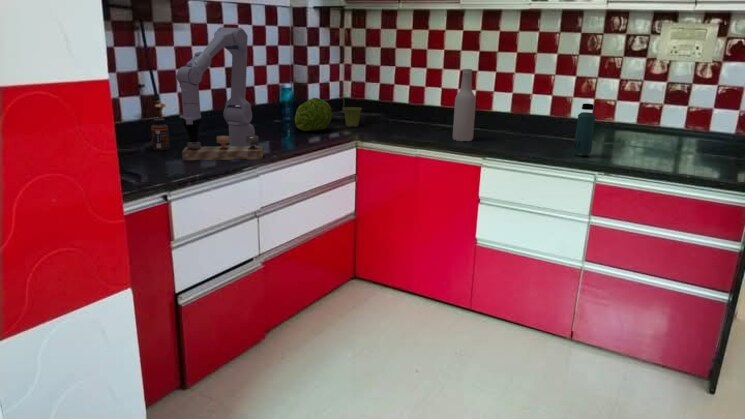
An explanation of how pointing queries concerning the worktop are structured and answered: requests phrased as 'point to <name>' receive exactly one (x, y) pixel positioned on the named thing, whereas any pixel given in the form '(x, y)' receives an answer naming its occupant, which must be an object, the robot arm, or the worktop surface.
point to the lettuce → (313, 115)
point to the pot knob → (223, 140)
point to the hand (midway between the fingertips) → (194, 142)
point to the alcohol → (464, 109)
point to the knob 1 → (194, 145)
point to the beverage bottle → (584, 130)
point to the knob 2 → (252, 140)
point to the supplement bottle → (160, 135)
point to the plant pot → (352, 116)
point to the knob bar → (223, 153)
